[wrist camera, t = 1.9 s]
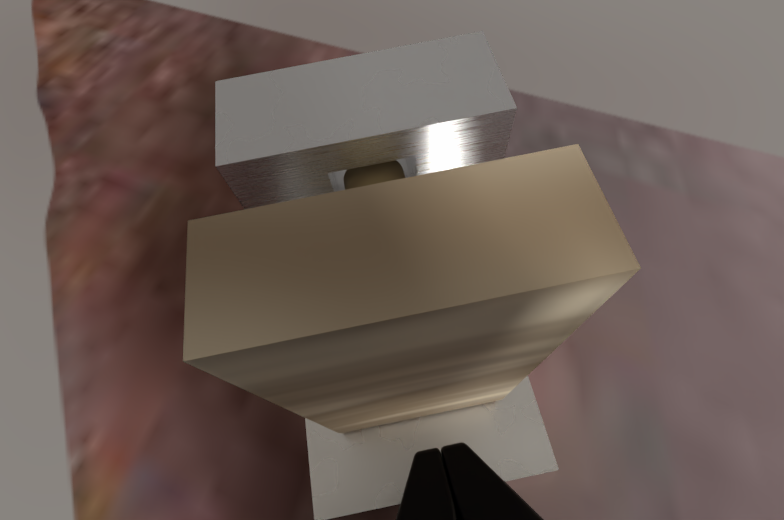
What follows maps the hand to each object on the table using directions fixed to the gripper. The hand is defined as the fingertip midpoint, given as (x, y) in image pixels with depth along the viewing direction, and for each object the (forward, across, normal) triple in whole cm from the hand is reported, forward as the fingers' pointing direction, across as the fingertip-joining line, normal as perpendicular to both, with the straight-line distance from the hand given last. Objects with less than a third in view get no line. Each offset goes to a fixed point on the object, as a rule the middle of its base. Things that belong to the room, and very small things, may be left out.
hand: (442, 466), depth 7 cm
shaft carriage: (+12, 0, +3) cm, 13 cm away
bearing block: (+13, 0, +4) cm, 14 cm away
